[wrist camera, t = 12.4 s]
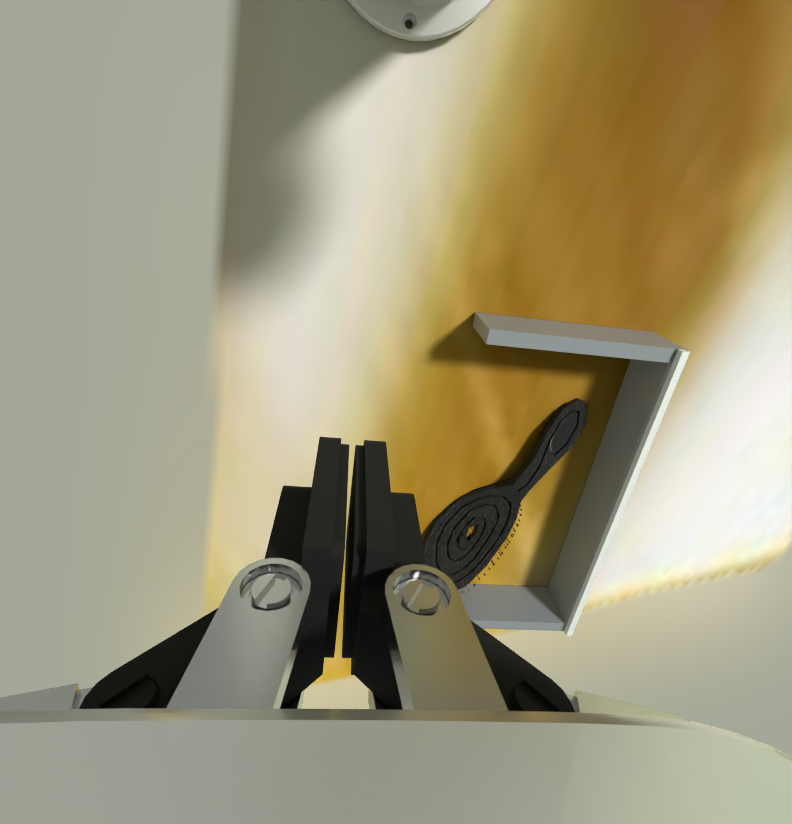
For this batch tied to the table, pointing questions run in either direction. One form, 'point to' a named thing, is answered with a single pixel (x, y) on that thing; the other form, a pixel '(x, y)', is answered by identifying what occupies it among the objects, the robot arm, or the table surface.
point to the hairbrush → (497, 504)
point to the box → (609, 475)
